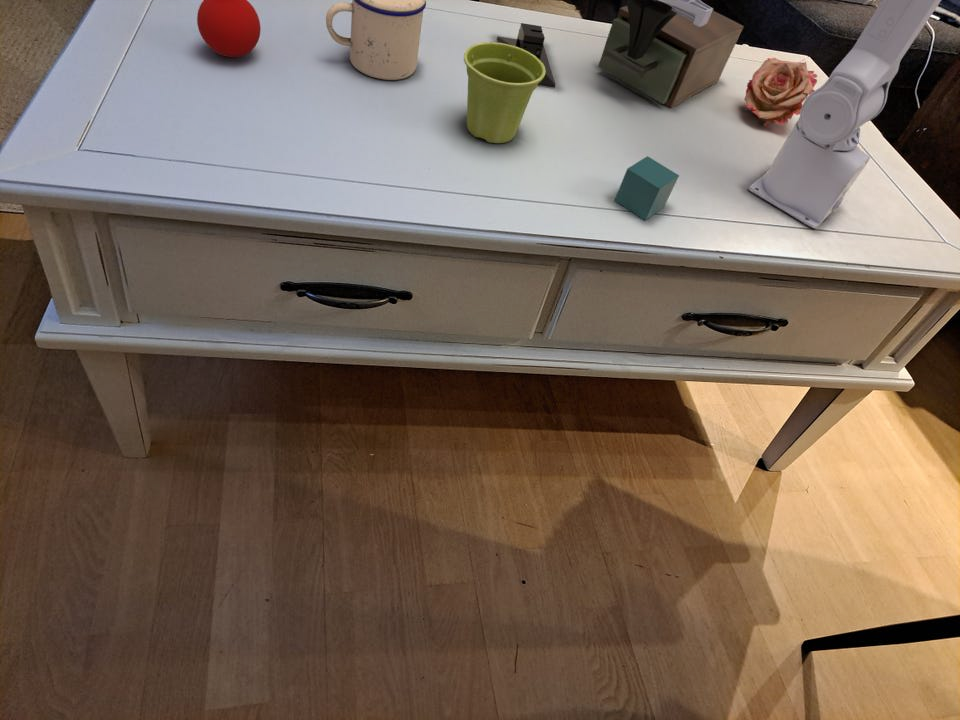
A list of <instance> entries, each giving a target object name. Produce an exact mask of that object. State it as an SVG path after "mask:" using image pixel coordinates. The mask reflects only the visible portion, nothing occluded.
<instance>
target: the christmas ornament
mask: <svg viewBox="0 0 960 720" xmlns="http://www.w3.org/2000/svg"><path fill="white" fill-rule="evenodd" d="M200 3H201V4H200V5H199V6H198V9H197V15H196V24H197V28H198V32H199V34H200V36H201V38H202V40H203V42H204V43H205V44H206V45H207V46H208V47H209V48H210V49H211V50H212V51H213V52H215V53H217V54H219V55H221V56H224V57H229V58H240V57H242V56H245V55H247V54H249V53H250V52H252V50H254V49H255V47H256V46H257V44H258V43H259V41H260V40H259V39H260V38H261V37H260V36H261V22H260V21H261V20H260V18H259V15H258V12H257V11H256V9H255V8H254V6H253V5H252V4H251V2H250V1H248V0H202V2H200Z"/></svg>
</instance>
